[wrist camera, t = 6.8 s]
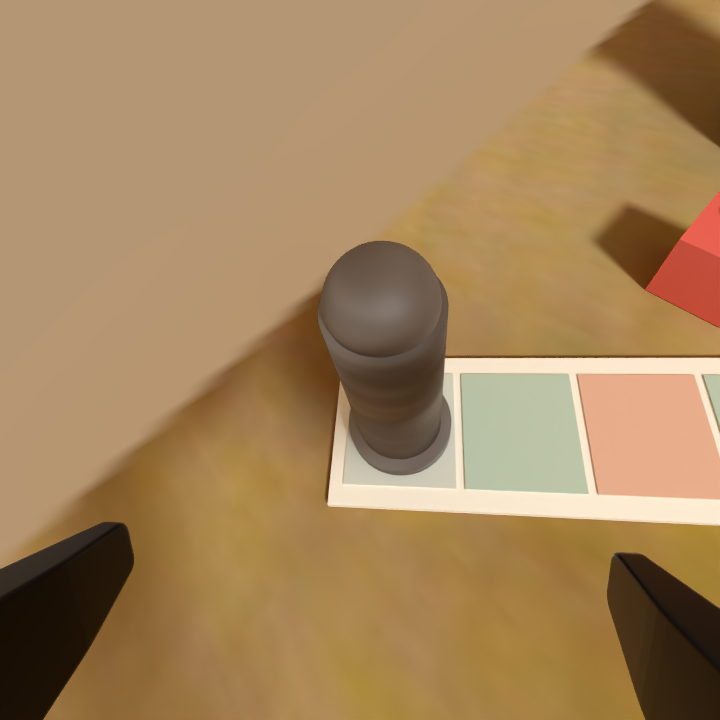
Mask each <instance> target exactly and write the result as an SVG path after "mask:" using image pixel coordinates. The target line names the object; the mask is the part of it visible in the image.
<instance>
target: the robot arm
mask: <svg viewBox="0 0 720 720" xmlns="http://www.w3.org/2000/svg"><path fill="white" fill-rule="evenodd" d="M133 565H134V554H133V549H132V545H131V540H130V536H129V531H128V528H127V526H126V525H125V524H123V523H117V522H103V523H100V524H98V525H96V526H94V527H91V528H89V529H87V530H85V531H83V532H80V533H78V534H76V535H74V536H72V537H70V538H67V539H65V540H63V541H61V542H59V543H56V544H54V545H52V546H50V547H48V548H45V549H43V550H41V551H39V552H37V553H34V554H32V555H30V556H28V557H26V558H24V559H21V560H19V561H17V562H15V563H13V564H10V565H8V566H6V567H4V568H2V569H0V720H43V719H44V717H45V716H46V714H47V713H48V711H49V710H50V708H51V707H52V705H53V704H54V702H55V701H56V699H57V698H58V696H59V694H60V693H61V691H62V690H63V688H64V687H65V685H66V684H67V682H68V681H69V679H70V678H71V676H72V675H73V673H74V672H75V670H76V668H77V667H78V665H79V664H80V662H81V661H82V659H83V658H84V656H85V654H86V653H87V651H88V650H89V648H90V646H91V644H92V643H93V641H94V639H95V637H96V636H97V634H98V632H99V630H100V628H101V626H102V625H103V623H104V621H105V619H106V617H107V615H108V614H109V612H110V610H111V608H112V606H113V604H114V602H115V601H116V599H117V597H118V595H119V593H120V591H121V590H122V588H123V586H124V584H125V582H126V580H127V578H128V577H129V575H130V573H131V571H132V568H133ZM607 599H608V605H609V609H610V612H611V615H612V619H613V622H614V625H615V628H616V631H617V635H618V638H619V641H620V644H621V647H622V651H623V654H624V657H625V660H626V664H627V667H628V670H629V673H630V676H631V680H632V683H633V686H634V689H635V692H636V695H637V698H638V701H639V704H640V707H641V710H642V712H643V715H644V717H645V720H720V608H719V607H717V606H716V605H714V604H713V603H711V602H710V601H709V600H707V599H706V598H704V597H703V596H701V595H700V594H699V593H697V592H696V591H694V590H693V589H691V588H690V587H689V586H687V585H686V584H684V583H683V582H681V581H680V580H679V579H677V578H676V577H674V576H673V575H671V574H670V573H669V572H667V571H666V570H664V569H663V568H661V567H660V566H659V565H657V564H656V563H654V562H653V561H651V560H650V559H649V558H647V557H646V556H644V555H642V554H640V553H628V552H616V553H615V554H614V555H613V557H612V560H611V566H610V574H609V581H608V588H607Z"/></svg>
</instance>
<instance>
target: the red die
mask: <svg viewBox="0 0 720 720" xmlns="http://www.w3.org/2000/svg"><path fill="white" fill-rule="evenodd" d="M645 290H647V291H649V292H651V293H653V294H655V295H656V296H658V297H660V298H662V299H664V300H666V301H668V302H670V303H672V304H674V305H676V306H678V307H680V308H682V309H684V310H686V311H688V312H690V313H692V314H694V315H696V316H698V317H700V318H702V319H703V320H705V321H707V322H709V323H711V324H713V325H715V326H717V327H719V328H720V192H718V194H717V195H716V196H715V197H714V198H713V200H712V201H711V202H710V203H709V204H708V206H707V207H706V208H705V209H704V210H703V212H702V213H701V214H700V215H699V216H698V218H697V219H696V220H695V221H694V222H693V224H692V225H691V226H690V227H689V228H688V230H687V231H686V232H685V233H684V234H683V236H682V237H681V238H680V239H679V241H678V242H677V244H676V245H675V247H674V248H673V250H672V251H671V252H670V254H669V255H668V257H667V258H666V260H665V261H664V263H663V264H662V266H661V267H660V269H659V270H658V272H657V273H656V274H655V276H654V277H653V279H652V280H651V282H650V283H649V285H648V286H647V288H646V289H645Z"/></svg>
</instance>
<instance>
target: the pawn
mask: <svg viewBox="0 0 720 720" xmlns="http://www.w3.org/2000/svg"><path fill="white" fill-rule="evenodd" d="M317 315H318V323H319V327H320V330H321V332H322V335H323V338H324V340H325V343H326V345H327V348H328V350H329V353H330V355H331V358H332V361H333V363H334V366H335V368H336V371H337V373H338V376H339V379H340V381H341V384H342V386H343V389H344V391H345V394H346V396H347V399H348V402H349V404H350V407H351V410H350V415H349V430H350V434H351V438H352V440H353V442H354V445H355V447H356V449H357V451H358V452H359V454H360V455H361V457H362V458H363V459H364V460H365V461H366V462H367V463H368V464H369V465H371V466H372V467H373V468H375V469H377V470H379V471H381V472H384V473H387V474H391V475H398V476H401V475H411V474H415V473H419V472H421V471H423V470H425V469H427V468H429V467H430V466H432V465H433V464H434V463H435V462H436V461H437V460H438V459H439V458H440V457H441V456H442V454H443V453H444V451H445V449H446V447H447V445H448V442H449V438H450V432H451V412H450V408H449V406H448V403H447V401H446V399H445V397H444V396H443V381H444V366H445V351H446V335H447V320H448V298H447V294H446V291H445V288H444V286H443V284H442V283H441V281H440V280H439V278H438V277H437V276H436V274H435V272H434V271H433V269H432V268H431V266H430V264H429V263H428V262H427V261H426V260H425V259H424V258H423V257H422V256H421V255H420V254H419V253H417V252H416V251H414V250H413V249H411V248H409V247H407V246H405V245H402V244H399V243H395V242H390V241H373V242H368V243H364V244H361V245H359V246H357V247H355V248H353V249H351V250H349V251H348V252H346V253H345V254H344V255H343V256H341V257H340V258H339V259H338V260H337V262H336V263H335V264H334V265H333V267H332V268H331V269H330V271H329V273H328V275H327V277H326V280H325V282H324V286H323V290H322V295H321V298H320V300H319V305H318V314H317Z"/></svg>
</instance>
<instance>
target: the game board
mask: <svg viewBox="0 0 720 720" xmlns="http://www.w3.org/2000/svg"><path fill="white" fill-rule="evenodd" d="M443 396H444V397H445V399H446V401H447V403H448V406H449V408H450V412H451V432H450V438H449V442H448V445H447V447H446V449H445V451H444V453H443V454H442V456H441V457H440V458H439V459H438V460H437V461H436V462H435V463H434V464H433V465H432V466H430V467H429V468H427V469H425V470H423V471H421V472H419V473H415V474H411V475H401V476H398V475H391V474H387V473H384V472H381V471H379V470H377V469H375V468H373V467H372V466H371V465H369V464H368V463H367V462H366V461H365V460H364V459H363V458H362V457H361V455H360V454H359V452H358V451H357V449H356V447H355V445H354V442H353V440H352V438H351V434H350V430H349V415H350V410H351V407H350V404H349V402H348V399H347V396H346V394H345V391H344V389H343V386H342V384H341V381H340V387H339V397H338V407H337V416H336V426H335V436H334V446H333V456H332V465H331V475H330V485H329V495H328V506H332V507H353V508H373V509H393V510H413V511H434V512H454V513H474V514H495V515H515V516H535V517H555V518H576V519H596V520H616V521H636V522H657V523H677V524H697V525H717V526H720V358H445V366H444V381H443Z"/></svg>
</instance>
